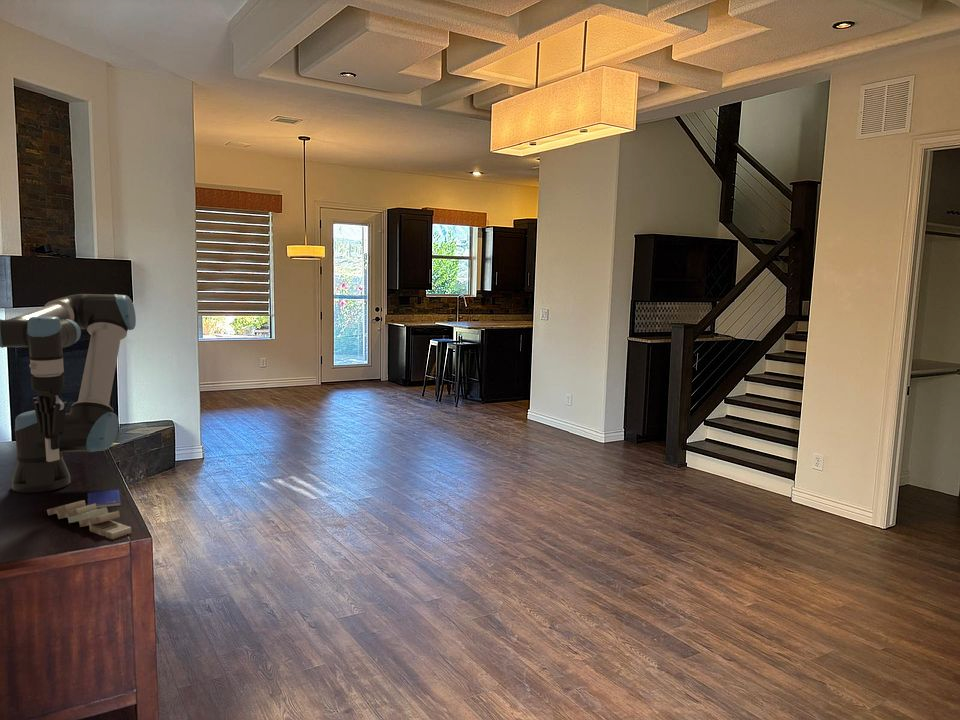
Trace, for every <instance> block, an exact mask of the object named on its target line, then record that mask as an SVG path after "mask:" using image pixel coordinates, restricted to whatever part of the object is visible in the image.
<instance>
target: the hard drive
mask: <svg viewBox="0 0 960 720" xmlns="http://www.w3.org/2000/svg"><path fill="white" fill-rule="evenodd" d="M120 495H121V494H120V489H112V490H103V491H102V490H101V491H95V492H93V491H92V492H87V503H86V506H87V505H91V504H95V503H96V507H97V509H101V508H105V507H107V508H109V507H115V506H116V507H117V506H121V497H120Z"/></svg>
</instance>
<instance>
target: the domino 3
mask: <svg viewBox="0 0 960 720" xmlns="http://www.w3.org/2000/svg"><path fill="white" fill-rule="evenodd" d="M107 513H109V511H108V507H102V508H97V509H96V510H93V511H89V512H86V513H82V514H79V515H75V516H71V517H67V520H68V524H71V523H77V522H79V521H81V520H86V519H90V518H93V517H97V516H100V515H103V514H107Z"/></svg>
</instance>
